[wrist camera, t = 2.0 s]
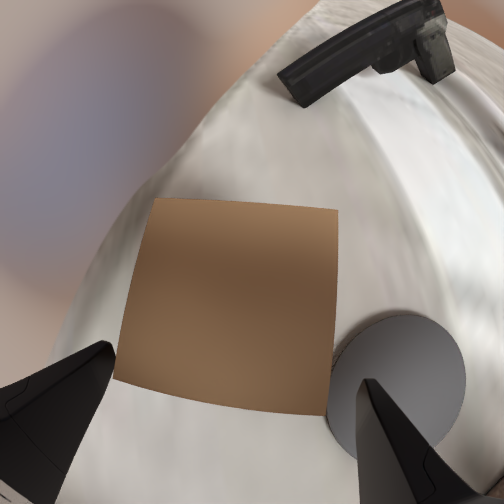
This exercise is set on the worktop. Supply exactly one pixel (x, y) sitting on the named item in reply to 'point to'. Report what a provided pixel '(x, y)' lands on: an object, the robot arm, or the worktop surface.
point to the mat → (400, 376)
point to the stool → (233, 305)
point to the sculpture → (497, 490)
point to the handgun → (375, 50)
